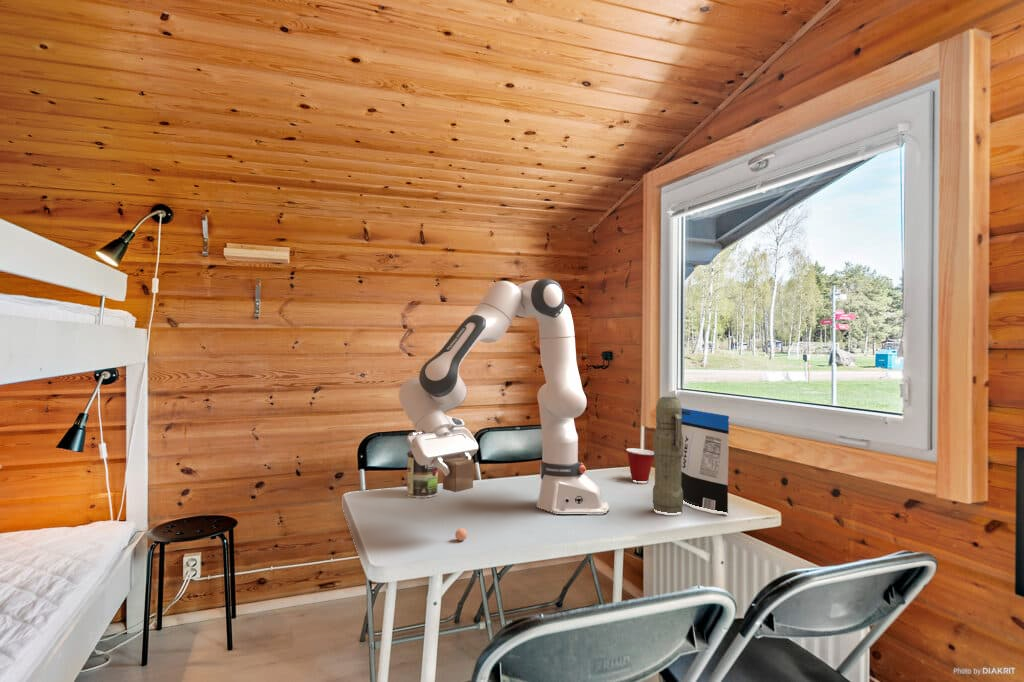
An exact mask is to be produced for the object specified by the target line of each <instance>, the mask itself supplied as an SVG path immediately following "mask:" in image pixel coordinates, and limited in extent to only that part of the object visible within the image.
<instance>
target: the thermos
mask: <svg viewBox="0 0 1024 682" xmlns="http://www.w3.org/2000/svg"><path fill="white" fill-rule="evenodd" d="M682 408H683V407H682V404H681V401H680V398H677V396H676V397H675V396H661V397H659V398H658V401H657V403H656V406H655V422H656V426H655V431H654V435H653V452H654V485H653V488H652V505H653V507H654V509H655V510H657V511H661V512H667V513H677V512H681V511H682V512H683V505H684V504H683V490H682V487H681V462H682V456H683V435H682Z"/></svg>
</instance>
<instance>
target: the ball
mask: <svg viewBox="0 0 1024 682" xmlns="http://www.w3.org/2000/svg"><path fill="white" fill-rule="evenodd" d="M454 535H455V538H456V540H458V541H460V542H462V541H465V540H466V539H467V537H468V533H467V530H466V529H465V528H458V529H457V530H456V531H455V533H454Z"/></svg>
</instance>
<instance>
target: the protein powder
mask: <svg viewBox="0 0 1024 682" xmlns="http://www.w3.org/2000/svg"><path fill="white" fill-rule="evenodd" d="M729 420H730V415H727V414H726V415H724V414H719V413H712V412H706V411H701V410H695V409H688V408H683V407H682V435H683V456H682V462H681V487H682V490H683V500H684V501H685V502H687V503H689V504H692V505H695V506H699V507H703V508H707V509H711V510H717V511H723V512H727V513H728V514H729V506H728V505H729V501H728V500H729V498H728V497H729V494H728V493H729V491H728V490H729V489H728V488H729V451H730V450H729V447H730V446H729V445H730V444H729V443H730V441H729V440H730V439H729V437H730V436H729V435H730V433H729V432H730V430H729V429H730V427H729V426H730V425H729V424H730V421H729Z"/></svg>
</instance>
